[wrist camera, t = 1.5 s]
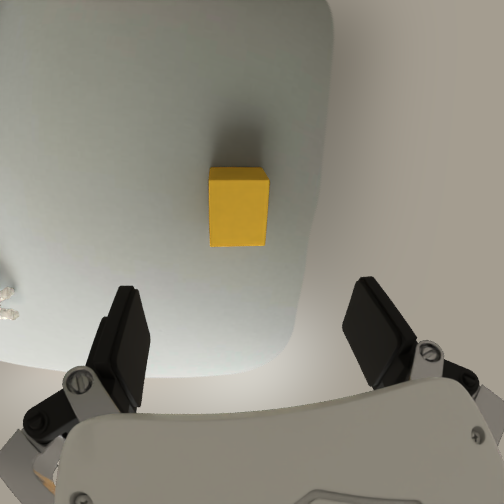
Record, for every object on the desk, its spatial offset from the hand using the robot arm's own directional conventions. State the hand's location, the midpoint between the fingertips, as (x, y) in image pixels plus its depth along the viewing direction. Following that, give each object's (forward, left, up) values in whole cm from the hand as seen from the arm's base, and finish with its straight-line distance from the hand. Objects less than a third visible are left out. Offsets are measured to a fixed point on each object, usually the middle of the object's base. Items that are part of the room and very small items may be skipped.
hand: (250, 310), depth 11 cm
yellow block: (0, 0, -13) cm, 13 cm away
